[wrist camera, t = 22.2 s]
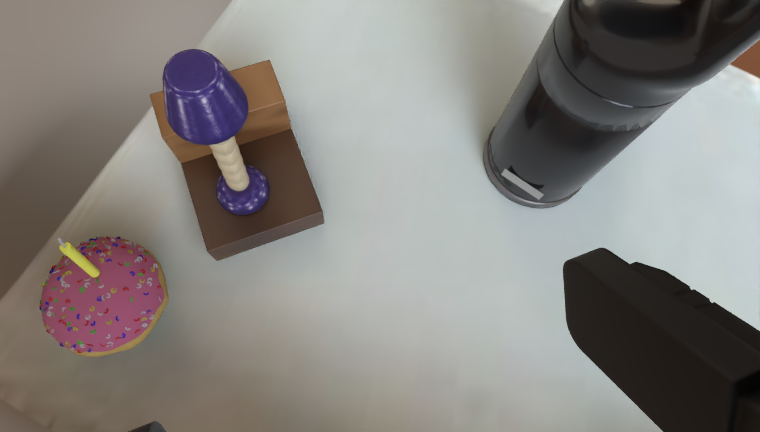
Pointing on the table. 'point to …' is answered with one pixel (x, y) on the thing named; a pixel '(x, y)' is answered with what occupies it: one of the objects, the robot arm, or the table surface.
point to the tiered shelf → (258, 149)
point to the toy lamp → (213, 124)
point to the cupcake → (103, 296)
